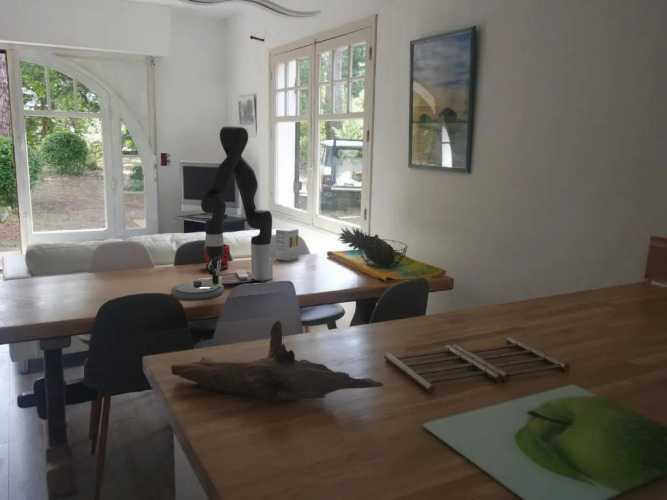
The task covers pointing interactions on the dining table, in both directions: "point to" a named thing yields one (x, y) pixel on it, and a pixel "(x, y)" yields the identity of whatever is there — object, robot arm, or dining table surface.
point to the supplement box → (287, 244)
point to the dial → (199, 286)
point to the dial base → (199, 295)
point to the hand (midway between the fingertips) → (215, 283)
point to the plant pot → (223, 257)
